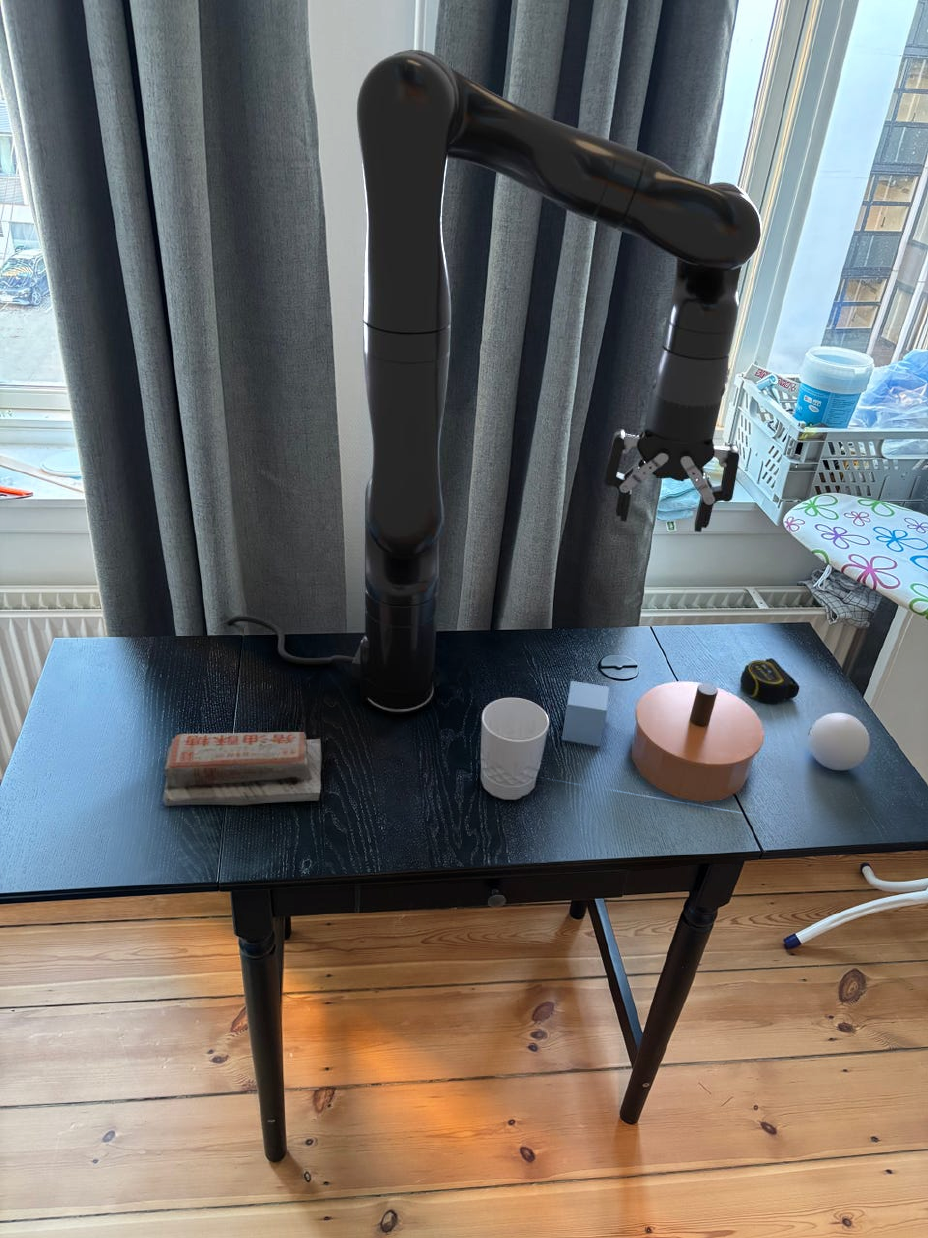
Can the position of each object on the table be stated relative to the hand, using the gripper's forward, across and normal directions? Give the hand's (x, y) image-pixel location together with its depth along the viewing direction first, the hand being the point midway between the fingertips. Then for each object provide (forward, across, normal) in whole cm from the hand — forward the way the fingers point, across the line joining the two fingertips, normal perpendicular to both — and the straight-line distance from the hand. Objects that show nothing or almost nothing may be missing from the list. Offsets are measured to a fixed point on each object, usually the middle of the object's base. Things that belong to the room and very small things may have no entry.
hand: (660, 523), depth 111 cm
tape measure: (+30, -20, -12) cm, 38 cm away
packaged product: (+30, +44, +22) cm, 58 cm away
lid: (+24, -9, +6) cm, 26 cm away
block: (+30, +5, +4) cm, 31 cm away
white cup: (+30, +13, +15) cm, 36 cm away
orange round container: (+30, -9, +6) cm, 32 cm away
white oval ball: (+30, -27, 0) cm, 41 cm away
